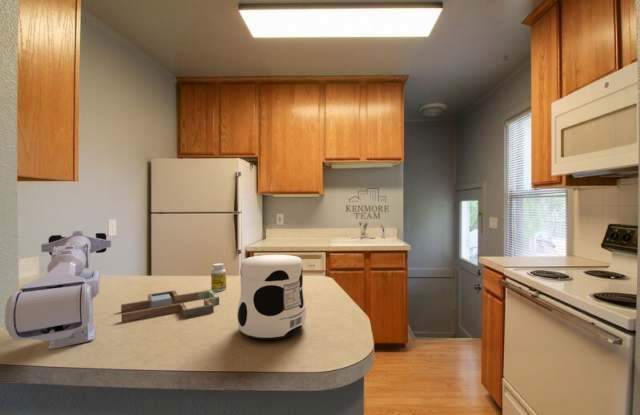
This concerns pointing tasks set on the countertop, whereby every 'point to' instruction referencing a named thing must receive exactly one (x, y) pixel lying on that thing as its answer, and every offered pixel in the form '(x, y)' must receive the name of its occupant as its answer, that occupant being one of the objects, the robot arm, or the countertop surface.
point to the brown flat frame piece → (170, 306)
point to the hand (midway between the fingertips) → (81, 239)
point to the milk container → (271, 297)
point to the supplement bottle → (218, 277)
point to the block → (160, 300)
